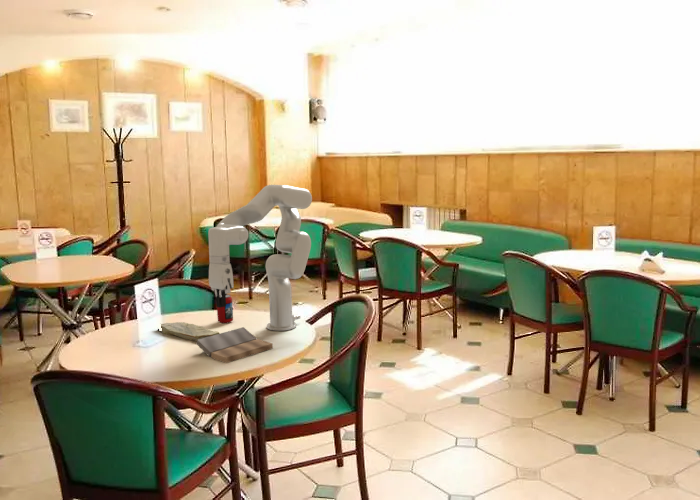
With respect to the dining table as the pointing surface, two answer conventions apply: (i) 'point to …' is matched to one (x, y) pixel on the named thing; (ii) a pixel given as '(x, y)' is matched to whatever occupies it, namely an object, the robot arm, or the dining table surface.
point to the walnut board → (241, 350)
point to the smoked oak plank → (224, 340)
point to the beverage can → (226, 311)
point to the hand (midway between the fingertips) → (221, 306)
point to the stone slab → (187, 330)
